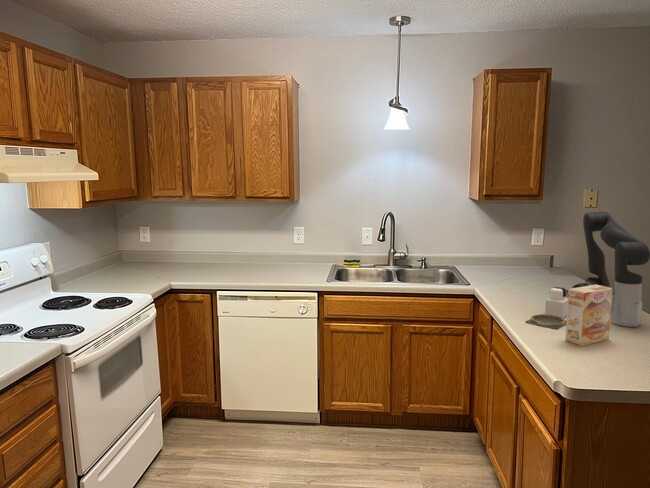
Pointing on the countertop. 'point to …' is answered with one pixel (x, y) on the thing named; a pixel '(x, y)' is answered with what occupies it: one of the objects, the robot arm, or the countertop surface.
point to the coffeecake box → (588, 314)
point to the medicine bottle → (557, 302)
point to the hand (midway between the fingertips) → (568, 297)
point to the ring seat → (547, 321)
